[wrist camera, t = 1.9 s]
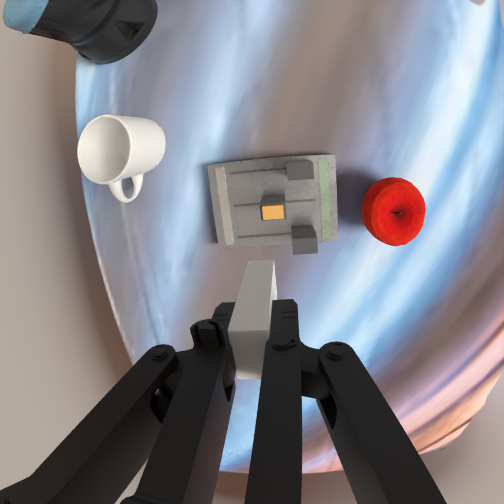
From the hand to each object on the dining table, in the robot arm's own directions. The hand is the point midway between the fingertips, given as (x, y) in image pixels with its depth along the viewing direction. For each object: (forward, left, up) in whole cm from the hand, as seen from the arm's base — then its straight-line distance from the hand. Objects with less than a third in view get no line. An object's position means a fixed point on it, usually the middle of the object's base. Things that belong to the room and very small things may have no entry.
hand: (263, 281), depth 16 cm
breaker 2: (+4, +3, -22) cm, 23 cm away
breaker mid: (0, 0, -22) cm, 22 cm away
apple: (+1, +16, -25) cm, 29 cm away
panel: (0, 0, -24) cm, 24 cm away
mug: (-9, -19, -25) cm, 32 cm away
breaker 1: (-4, +3, -22) cm, 23 cm away
